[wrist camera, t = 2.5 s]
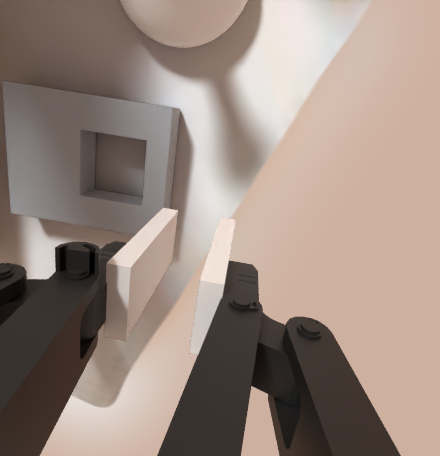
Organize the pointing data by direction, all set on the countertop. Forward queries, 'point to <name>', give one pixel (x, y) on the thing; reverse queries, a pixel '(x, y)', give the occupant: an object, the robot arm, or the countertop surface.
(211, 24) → the flower in vase
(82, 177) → the holed block
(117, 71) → the countertop surface
